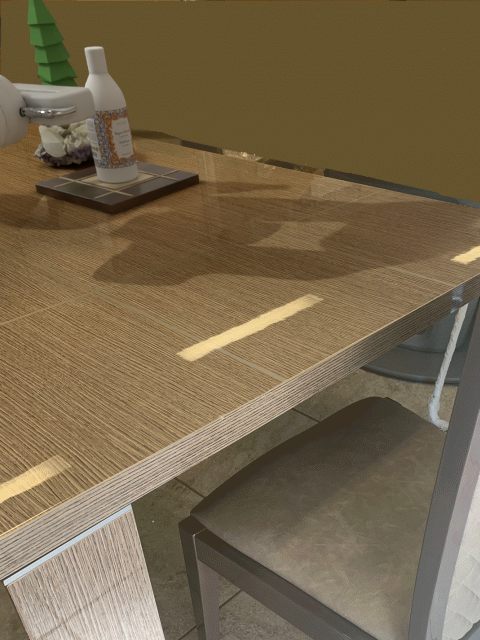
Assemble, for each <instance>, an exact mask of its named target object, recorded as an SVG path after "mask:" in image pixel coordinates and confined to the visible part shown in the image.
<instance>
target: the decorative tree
mask: <svg viewBox="0 0 480 640" xmlns="http://www.w3.org/2000/svg"><path fill="white" fill-rule="evenodd" d="M27 3H28V8H27V10H28V11H27V22H26V23H27V24H26V25H29V43H30V45H32V46H34V63H38V66H37V79H40V80H41V81H42V82H41V85H52V86H68V87H79V85H78V84H77V82H76V81H75V79H77V78H79V76H78V75H77V73H76V71H75V70H74V68H73V66H72V65H71V63H70V61H69V60H68V59H70V58H72V56H71V54H70V53H69V51H68V49H67V48H66V46H65V44H64V43H63V41H65V38H64V36H63V34H62V33H61V32H60V29H59V28H58V26H57V25H56V24H57V23H58V22H57V21H56V19H55V18H54V17H53V15H52V14H51V12H50V10H49V9H48V7H47V6H46V4H45V3H44V1H43V0H28V1H27Z"/></svg>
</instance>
